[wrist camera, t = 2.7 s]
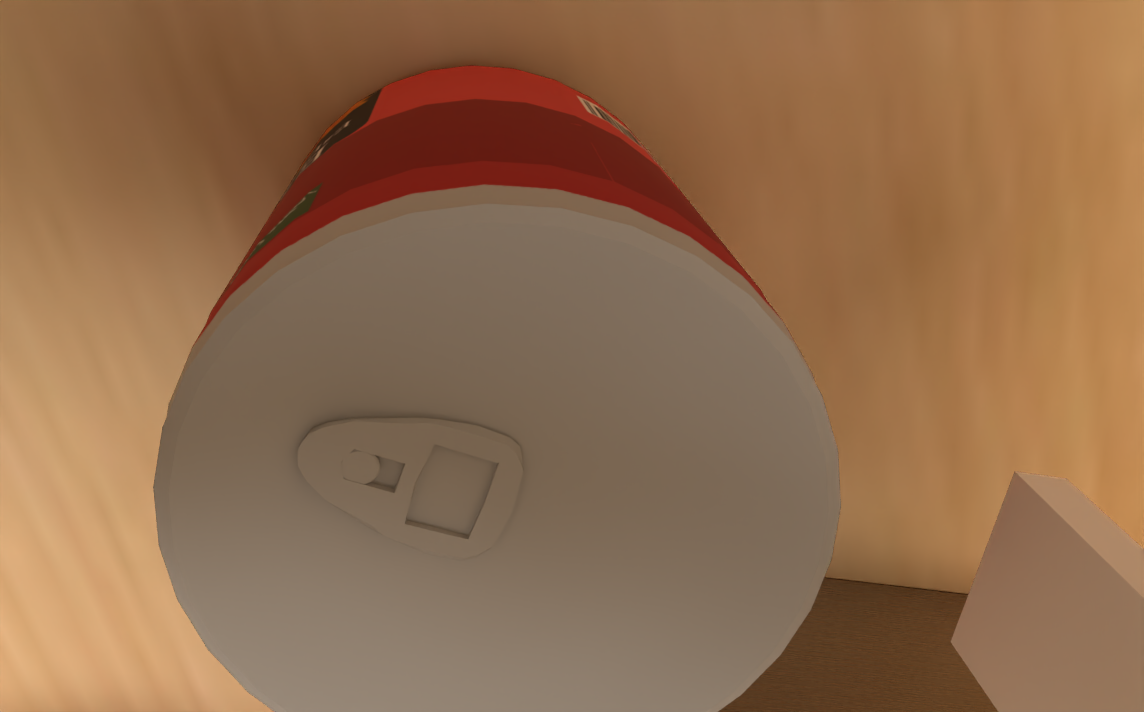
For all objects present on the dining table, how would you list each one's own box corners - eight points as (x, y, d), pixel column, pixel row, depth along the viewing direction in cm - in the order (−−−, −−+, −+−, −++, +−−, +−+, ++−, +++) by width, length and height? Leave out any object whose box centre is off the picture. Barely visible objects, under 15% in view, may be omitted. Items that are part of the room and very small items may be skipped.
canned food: (287, 40, 21) (124, 170, 10) (700, 76, 22) (916, 227, 12) (286, 408, 23) (159, 790, 13) (651, 425, 24) (790, 791, 14)
